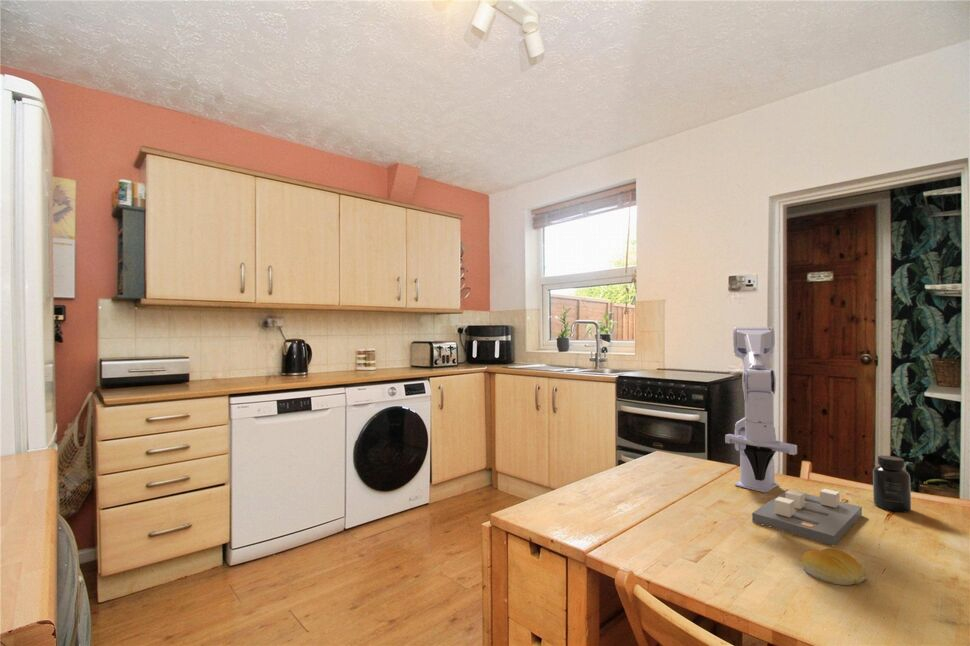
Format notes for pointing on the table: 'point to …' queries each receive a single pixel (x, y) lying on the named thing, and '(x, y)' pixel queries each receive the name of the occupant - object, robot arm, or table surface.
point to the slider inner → (829, 498)
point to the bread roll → (833, 566)
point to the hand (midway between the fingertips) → (759, 479)
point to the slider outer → (784, 506)
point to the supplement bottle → (891, 485)
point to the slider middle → (796, 498)
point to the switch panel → (811, 519)
